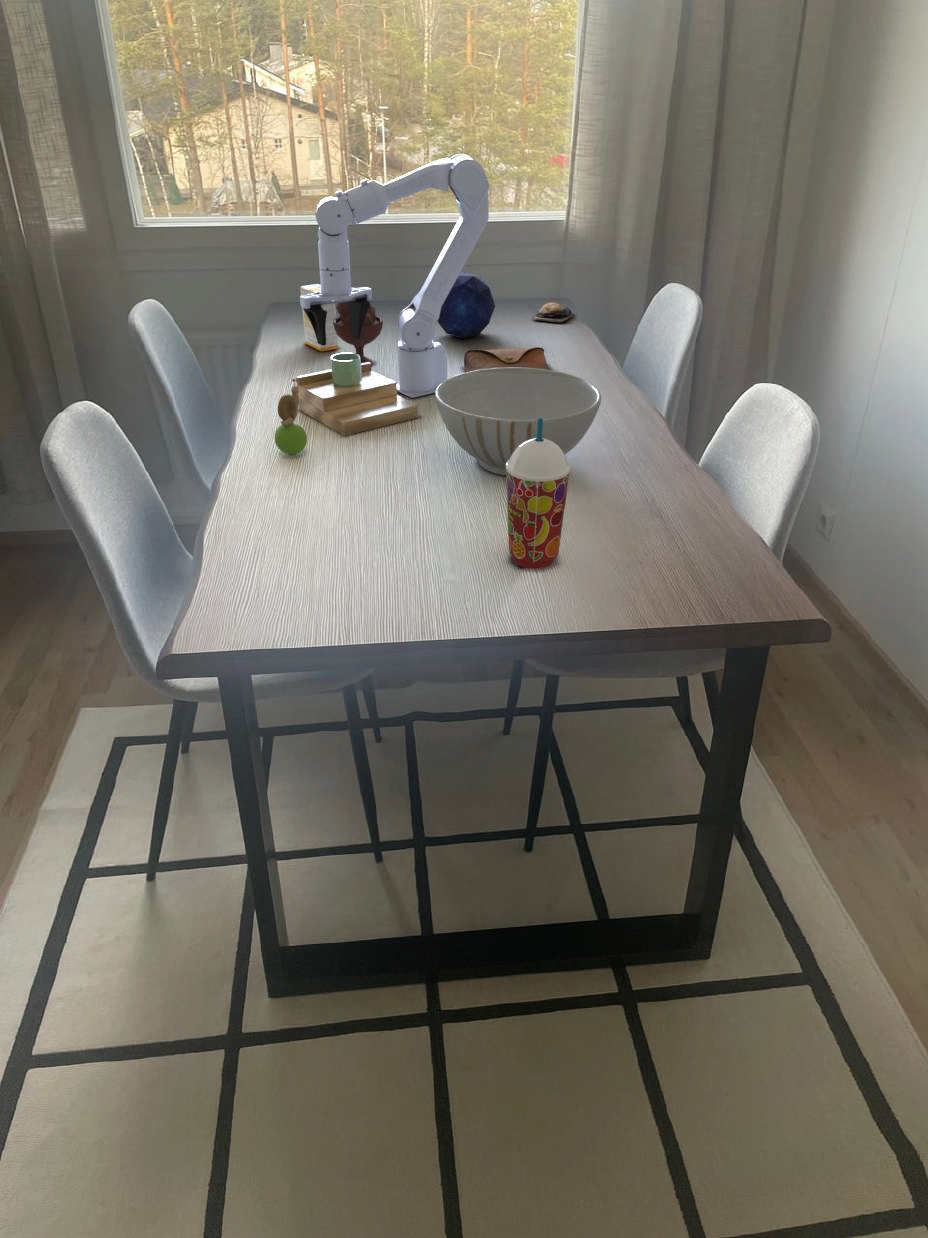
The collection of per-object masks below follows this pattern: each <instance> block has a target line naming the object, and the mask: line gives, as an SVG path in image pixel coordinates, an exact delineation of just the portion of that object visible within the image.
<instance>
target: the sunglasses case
mask: <svg viewBox="0 0 928 1238" xmlns="http://www.w3.org/2000/svg"><path fill="white" fill-rule="evenodd" d="M547 363H548V362H547V360H546V355H545V349H544V348H543V347H538V346H537V347H535V346H534V347H530V348H502V349H500V348H499V349H469V350H467V351H466V352H465V353H464V355H463V368H464V370H465V373H466V372H470V371H475V370H482V369H490V368H506V367H521V368H537V369H546V370H550V369H549V366H548V364H547Z"/></svg>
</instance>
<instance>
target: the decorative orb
mask: <svg viewBox="0 0 928 1238" xmlns="http://www.w3.org/2000/svg"><path fill="white" fill-rule="evenodd" d="M495 308H496V303H495V300H494V298H493V295H492V291H491V288H490V287H489V285H488V284H487V283H486V282H485V280H484V279H483V278H482V277H480V276H477V275H475V274H471V273H468V272H466V271H465V272H460V274H459V276H458V277H457V279H456V281H455V283H454V285H453V286H452V288H451V290H450V292H449V294H448V296H447V297H446V299H445V301H444V303H443V305H442V307H441V310H440V315H439V319H438V321H437V324H438V325H439V326H440V327H441V328H442V330H443V331H444V332H445V334H446V335H450V336H453V337H456V338H460V339H463V340H464V339H467V338H471V337H474V336H477V335H480V334H481V333H482V332H483V331H484V330H485V329H486V328H487V327H488V325H490V322H491V319H492V316H493V313H494V311H495Z"/></svg>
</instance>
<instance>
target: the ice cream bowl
mask: <svg viewBox="0 0 928 1238" xmlns="http://www.w3.org/2000/svg"><path fill="white" fill-rule="evenodd" d="M335 309H336V310H337V313H338V315H339V316H336V318H334V319H333V326H334V329H335V331H336V333H337V337H338V338H340V340H342V341H343V342H345V343H347V344H349V345H352V346H354V349H355V354H358V355H360V358H361V363H366V362H370V363H371V366H373V360H372V359H370V358H369V357H368V356H366V355H365V353H364V348H365V346H366V345H368V344H371V343H372V342H373V341H375V340H377V338H378V337H379V336H380V334H381V332H382V329H383V324H384V318H383V317H382V316H379V315H376V313H377V312H376V307H375V306H374V305H373V304H372V303H370V308H369V310H368V312H367V314H366V317H365V319H364V322H363V326H362V330H361V335H360V339H358V340H357V339H355V338H352V336H351V324H350V314H349V309H348V305H347V302H341V303H337V305H336V306H335Z"/></svg>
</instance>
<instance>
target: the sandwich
mask: <svg viewBox="0 0 928 1238" xmlns="http://www.w3.org/2000/svg"><path fill="white" fill-rule="evenodd" d="M572 316H573V312H572V310H571V308H569V306H563V305H561V304H560V303H557V302H548V303H545V304H543V306H542V307H541V308H540V309H539V310H538V311H536V312H535V316H534V319H533V321H543V322H549V323H563V322H566V321H567V320H569V319H570V318H571V317H572Z"/></svg>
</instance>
